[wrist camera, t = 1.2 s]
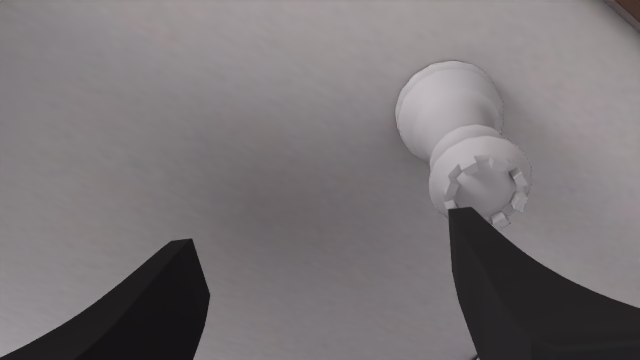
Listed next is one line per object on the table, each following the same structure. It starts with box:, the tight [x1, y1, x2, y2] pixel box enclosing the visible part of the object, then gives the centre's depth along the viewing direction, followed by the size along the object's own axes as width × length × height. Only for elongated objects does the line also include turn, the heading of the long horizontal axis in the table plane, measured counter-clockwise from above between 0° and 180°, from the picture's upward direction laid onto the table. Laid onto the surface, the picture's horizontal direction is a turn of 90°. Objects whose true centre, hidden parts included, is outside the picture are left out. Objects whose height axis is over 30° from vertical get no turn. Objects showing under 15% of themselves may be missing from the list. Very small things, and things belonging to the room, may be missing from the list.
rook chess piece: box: [395, 60, 531, 230], centre depth 20 cm, size 4×4×8 cm
